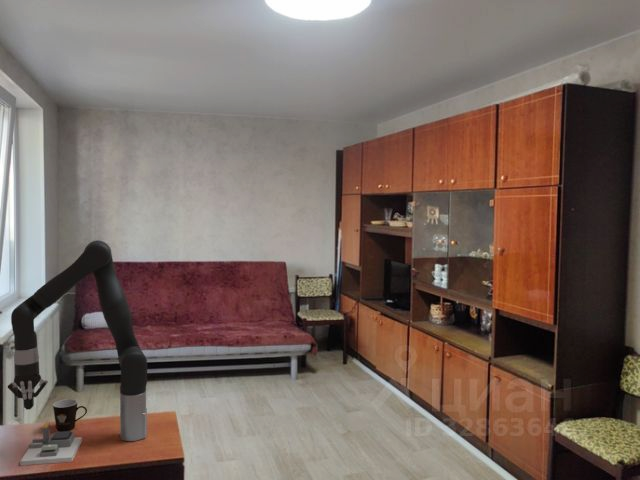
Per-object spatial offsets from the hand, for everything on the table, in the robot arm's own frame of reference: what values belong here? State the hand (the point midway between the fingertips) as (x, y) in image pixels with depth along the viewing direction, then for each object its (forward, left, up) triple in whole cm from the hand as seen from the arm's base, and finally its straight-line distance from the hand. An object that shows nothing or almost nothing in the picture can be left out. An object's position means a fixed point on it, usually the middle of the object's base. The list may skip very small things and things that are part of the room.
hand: (29, 408), depth 195 cm
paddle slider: (-5, 0, -13) cm, 14 cm away
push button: (-10, 0, -13) cm, 17 cm away
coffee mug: (-9, -16, -15) cm, 24 cm away
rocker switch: (-8, +8, -12) cm, 16 cm away
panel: (-8, +4, -15) cm, 18 cm away
